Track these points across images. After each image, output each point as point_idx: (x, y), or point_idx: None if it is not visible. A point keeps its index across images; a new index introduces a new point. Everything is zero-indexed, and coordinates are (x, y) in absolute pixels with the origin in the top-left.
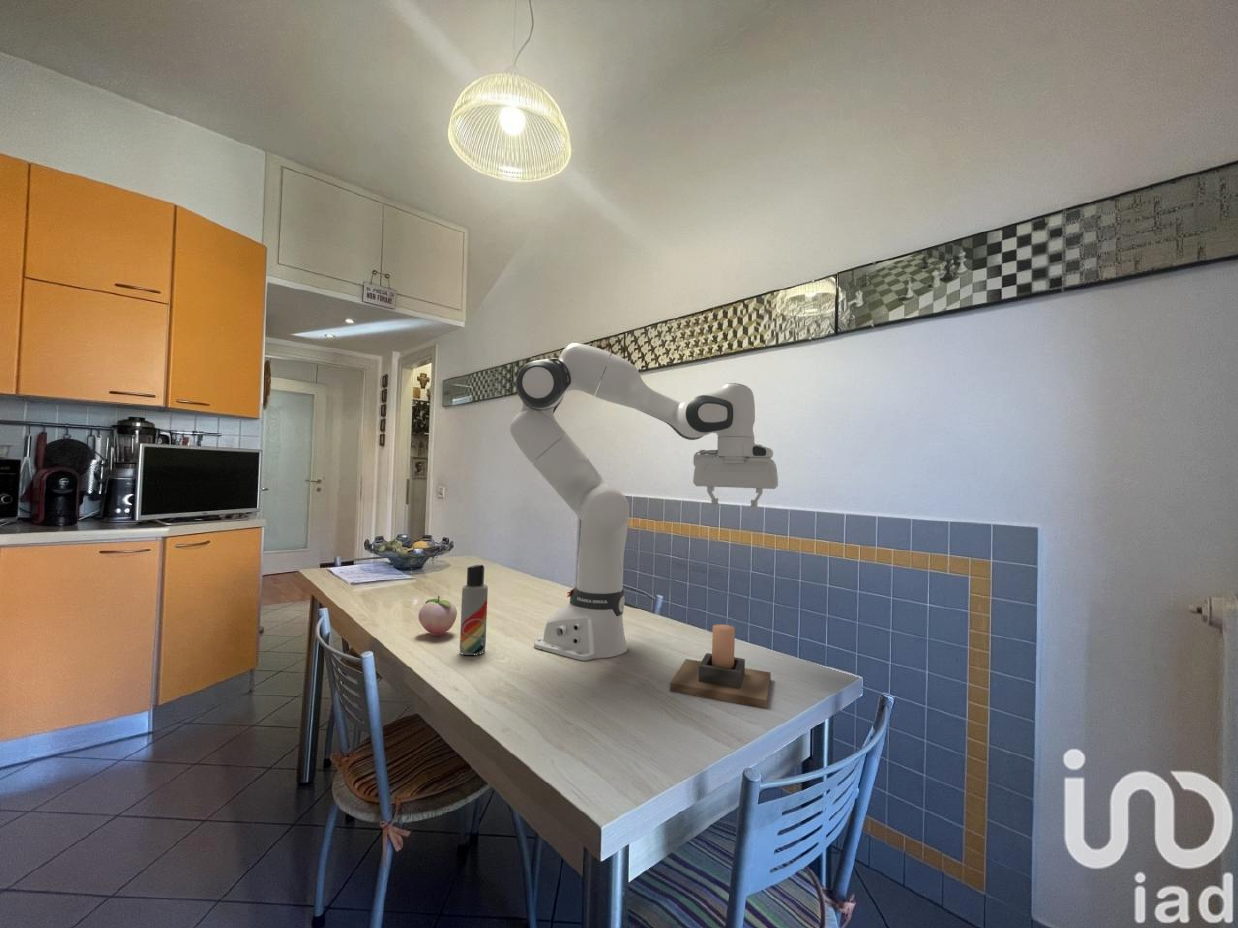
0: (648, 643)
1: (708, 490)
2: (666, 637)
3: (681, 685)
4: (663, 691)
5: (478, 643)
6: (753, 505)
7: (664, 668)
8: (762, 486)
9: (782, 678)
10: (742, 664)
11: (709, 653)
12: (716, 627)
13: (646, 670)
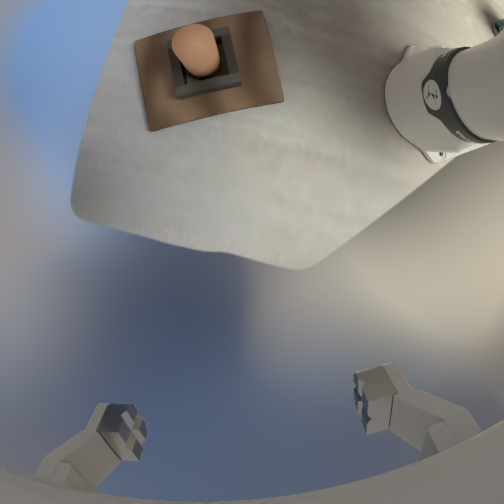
0: (376, 164)
1: (460, 418)
2: (364, 211)
3: (245, 13)
4: (267, 9)
5: (500, 23)
6: (112, 406)
7: (305, 74)
8: (9, 476)
9: (141, 148)
10: (172, 71)
11: (235, 81)
12: (204, 33)
13: (323, 54)
